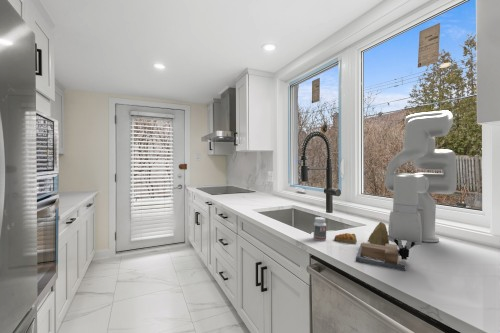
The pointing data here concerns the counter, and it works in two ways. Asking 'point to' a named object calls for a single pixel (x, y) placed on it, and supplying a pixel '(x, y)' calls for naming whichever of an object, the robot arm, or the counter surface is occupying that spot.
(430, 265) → the counter surface
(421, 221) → the robot arm
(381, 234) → the rock
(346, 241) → the pastry
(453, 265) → the counter surface
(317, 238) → the pill bottle
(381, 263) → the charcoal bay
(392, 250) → the t block
